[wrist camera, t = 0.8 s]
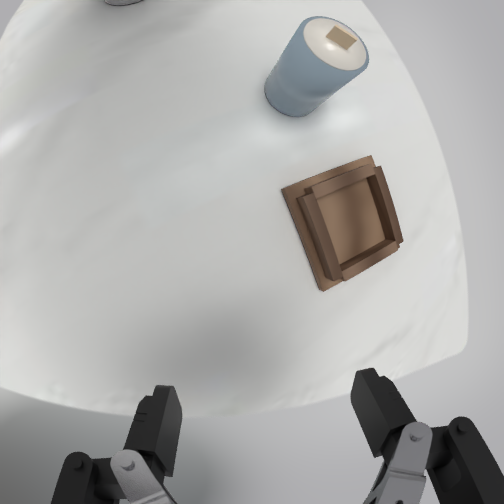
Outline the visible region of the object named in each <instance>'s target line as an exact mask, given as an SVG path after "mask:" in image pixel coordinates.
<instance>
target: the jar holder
mask: <svg viewBox="0 0 504 504" xmlns="http://www.w3.org/2000/svg"><path fill="white" fill-rule="evenodd" d="M281 190H282V192H283V195H284V197H285V200H286V202H287V205H288V207H289V210H290V212H291V215H292V217H293V220H294V222H295V225H296V227H297V230H298V233H299V235H300V238H301V240H302V243H303V246H304V248H305V251H306V254H307V256H308V259H309V262H310V264H311V267H312V270H313V273H314V275H315V278H316V281H317V284H318V287H319V289H320V290H321V291H323V292H324V291H326V290H328V289H329V288H331V287H333V286H335V285H337V284H338V283H340V282H342V281H347V280H349V279H350V278H352V277H354V276H356V275H357V274H359V273H361V272H363V271H364V270H366V269H368V268H369V267H371V266H373V265H374V264H376V263H378V262H379V261H381V260H383V259H384V258H386V257H388V256H389V255H391V254H393V253H394V252H396V251H397V250H398V248H400V246H399V244H400V243H402V242H403V237H402V233H401V230H400V226H399V222H398V218H397V215H396V211H395V208H394V204H393V201H392V198H391V195H390V191H389V188H388V185H387V182H386V179H385V176H384V173H383V171H382V168H381V166H378V167H376V166H375V164H374V161H373V158H372V156H371V155H370V156H367V157H364V158H361V159H359V160H356V161H353V162H350V163H347V164H345V165H342V166H339V167H337V168H334V169H331V170H329V171H326V172H323V173H321V174H318V175H316V176H313V177H310V178H308V179H305V180H303V181H300V182H298V183H295V184H293V185H290V186H288V187H285V188H283V189H281Z"/></svg>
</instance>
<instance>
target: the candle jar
mask: <svg viewBox="0 0 504 504" xmlns="http://www.w3.org/2000/svg"><path fill="white" fill-rule="evenodd" d="M368 63H369V55H368V51H367V48H366V46H365V44H364V43H363V41H362V40H361V38H360V37H359V36H358V35H357V34H356V33H355V32H354V31H353V30H352V29H351V28H349V27H348V26H346V25H345V24H343V23H341V22H339V21H337V20H335V19H332V18H328V17H322V16H315V17H310V18H307V19H306V20H304V21H303V22H302V23H301V24H300V26H299V27H298V29H297V31H296V32H295V34H294V35H293V37H292V38H291V40H290V42H289V43H288V45H287V46H286V48H285V50H284V51H283V53H282V55H281V56H280V58H279V60H278V61H277V63H276V65H275V66H274V68H273V70H272V72H271V73H270V75H269V77H268V78H267V80H266V83H265V94H266V97H267V99H268V101H269V102H270V104H271V105H272V106H273V107H274V108H275V109H277V110H278V111H280V112H281V113H283V114H286V115H289V116H294V117H299V116H305V115H307V114H309V113H311V112H312V111H313V110H314V109H315V108H317V107H318V106H319V105H320V104H322V103H323V102H324V101H325V100H327V99H328V98H329V97H330V96H332V95H333V94H334V93H335V92H337V91H338V90H339V89H340V88H342V87H343V86H344V85H346V84H347V83H348V82H350V81H351V80H352V79H354V78H355V77H356V76H357V75H359V74H360V73H362V72H363V71H364V70H365V69H366V68H367V66H368Z"/></svg>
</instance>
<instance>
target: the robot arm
mask: <svg viewBox="0 0 504 504" xmlns="http://www.w3.org/2000/svg"><path fill="white" fill-rule="evenodd" d="M104 1H105V2H107V3H108V4H111V5H127V4H131V3H136V2H138V1H141V0H104ZM351 403H352V406H353V408H354V410H355V413H356V415H357V418H358V420H359V422H360V425H361V427H362V430H363V432H364V434H365V437H366V439H367V442H368V444H369V446H370V449H371V451H372V454H373V456H374V458H376V457H379V456H383V458H384V461H383V463H382V466H381V468H380V471H379V473H378V475H377V478H376V480H375V482H374V484H373V487H372V489H371V491H370V493H369V495H368V497H367V498H366V500H365V501H364V503H363V504H419V502H420V499H421V496H422V493H423V490H424V487H425V483H426V476H424V470H425V469H426V470H427V472H428V474H429V477H430V479H431V482H432V484H433V487H434V489H435V492H436V494H437V497H438V500H439V502H440V504H504V476H503V474H502V472H501V470H500V468H499V466H498V464H497V462H496V461H495V459H494V457H493V455H492V454H491V452H490V450H489V449H488V446H487V445H486V443H485V441H484V440H483V439H482V436H481V435H480V433H479V431H478V430H477V428H476V427H475V425H474V423H473V422H472V421H471V420H470V419H469V418H467V417H457V418H454V419H453V420H452V421H451V422H450V424H449V425H448V426H443V427H434V428H430V427H429V426H428V425H426V424H424V423H422V422H417V421H416V419H415V417H414V416H413V414H412V412H411V411H410V409H409V408H408V406H407V404H406V403H405V401H404V399H403V398H402V397H401V395H400V393H399V392H398V391H397V388H396V387H395V385H394V383H393V382H392V381H391V380H389V379H388V378H387V377H385V376H381V377H379V375H378V374H377V372H376V370H375V369H374V368H368V369H364V370H359V371H357V372H356V374H355V378H354V382H353V386H352V390H351ZM133 420H134V421H133V422H132V425H131V428H130V431H129V434H128V437H127V440H126V443H125V446H124V448H123V450H121V451H119V452H117V453H116V454H114V455H113V457H111V458H101V459H91V458H90V457H89V456H88V455H87V454H85V453H83V452H73V453H71V454H69V455H68V456H67V457H66V459H65V461H64V464H63V467H62V469H61V473H60V475H59V479H58V482H57V485H56V488H55V491H54V495H53V498H52V501H51V504H119V500H120V499H128V501H129V503H130V504H178V503H177V502H176V501H175V499H174V498H173V497H172V495H171V494H170V493H169V491H168V490H167V488H166V487H165V486H164V484H163V481H164V476H168V477H173V470H174V464H175V457H176V451H177V445H178V439H179V433H180V428H181V422H182V408H181V405H180V402H179V399H178V397H177V394H176V391H175V388H174V386H164V385H156V387H155V389H154V392H153V395H152V396H145V397H144V398H143V399H142V400H141V401H140V403H139V404H138V407H137V410H136V414H135V416H134V419H133Z"/></svg>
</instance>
